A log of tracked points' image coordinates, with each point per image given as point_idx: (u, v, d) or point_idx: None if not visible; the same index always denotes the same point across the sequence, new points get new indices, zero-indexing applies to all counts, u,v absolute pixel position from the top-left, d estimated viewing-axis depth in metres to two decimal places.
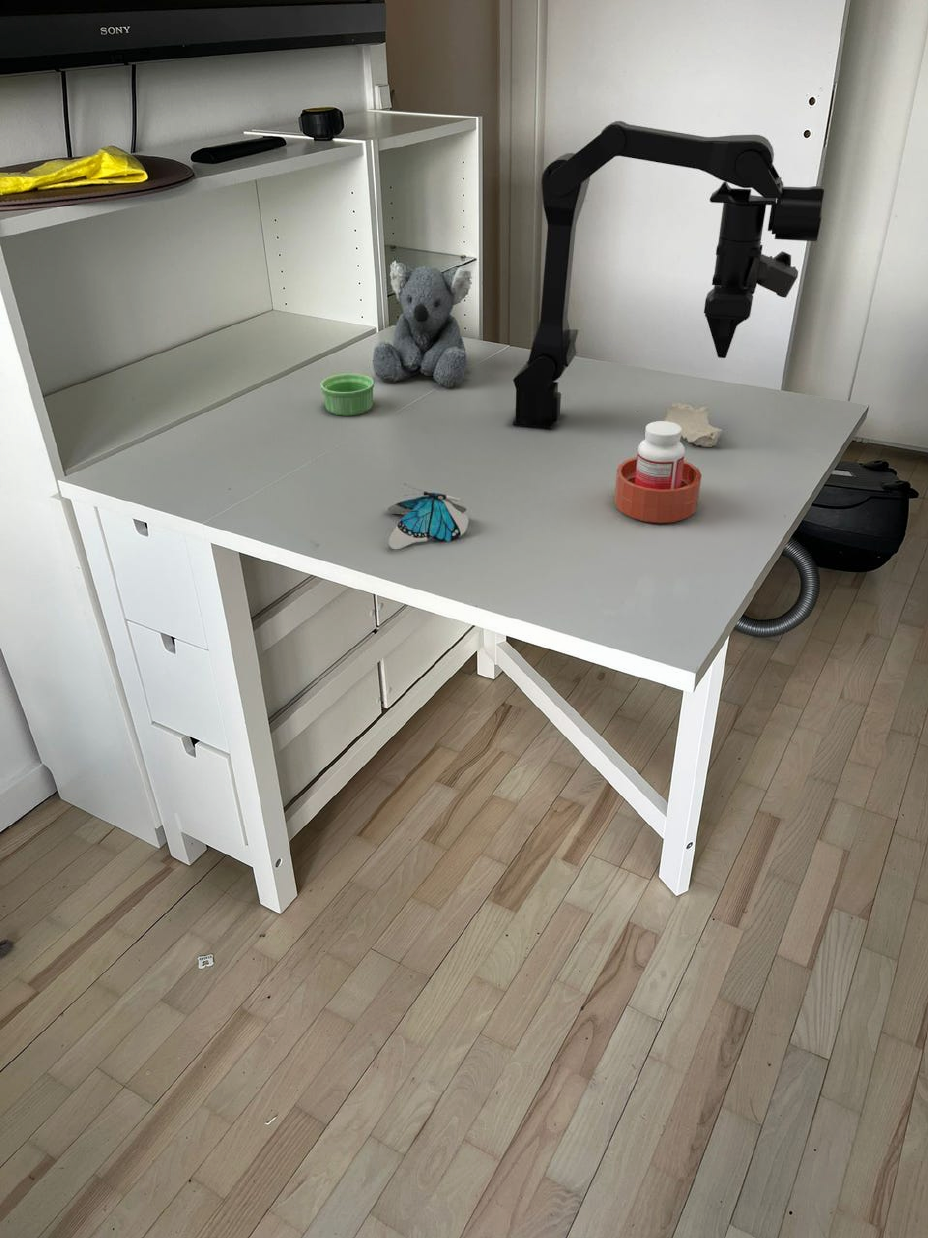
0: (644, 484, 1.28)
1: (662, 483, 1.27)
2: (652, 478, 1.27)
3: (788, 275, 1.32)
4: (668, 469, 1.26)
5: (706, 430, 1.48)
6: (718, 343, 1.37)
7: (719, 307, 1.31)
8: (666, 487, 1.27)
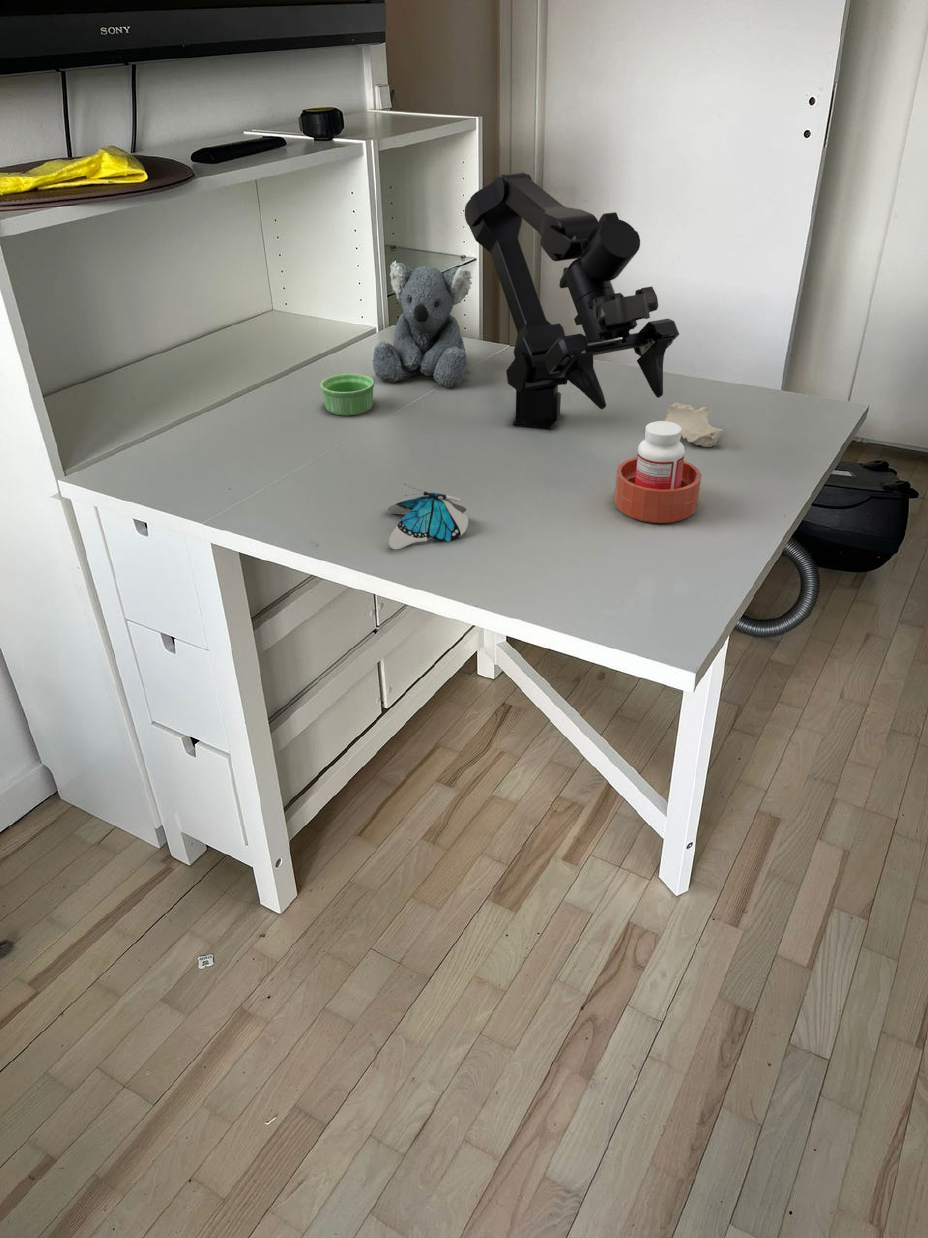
0: (644, 484, 1.28)
1: (662, 483, 1.27)
2: (652, 478, 1.27)
3: (613, 300, 1.25)
4: (668, 469, 1.26)
5: (706, 430, 1.48)
6: (590, 396, 1.30)
7: (550, 360, 1.30)
8: (666, 487, 1.27)
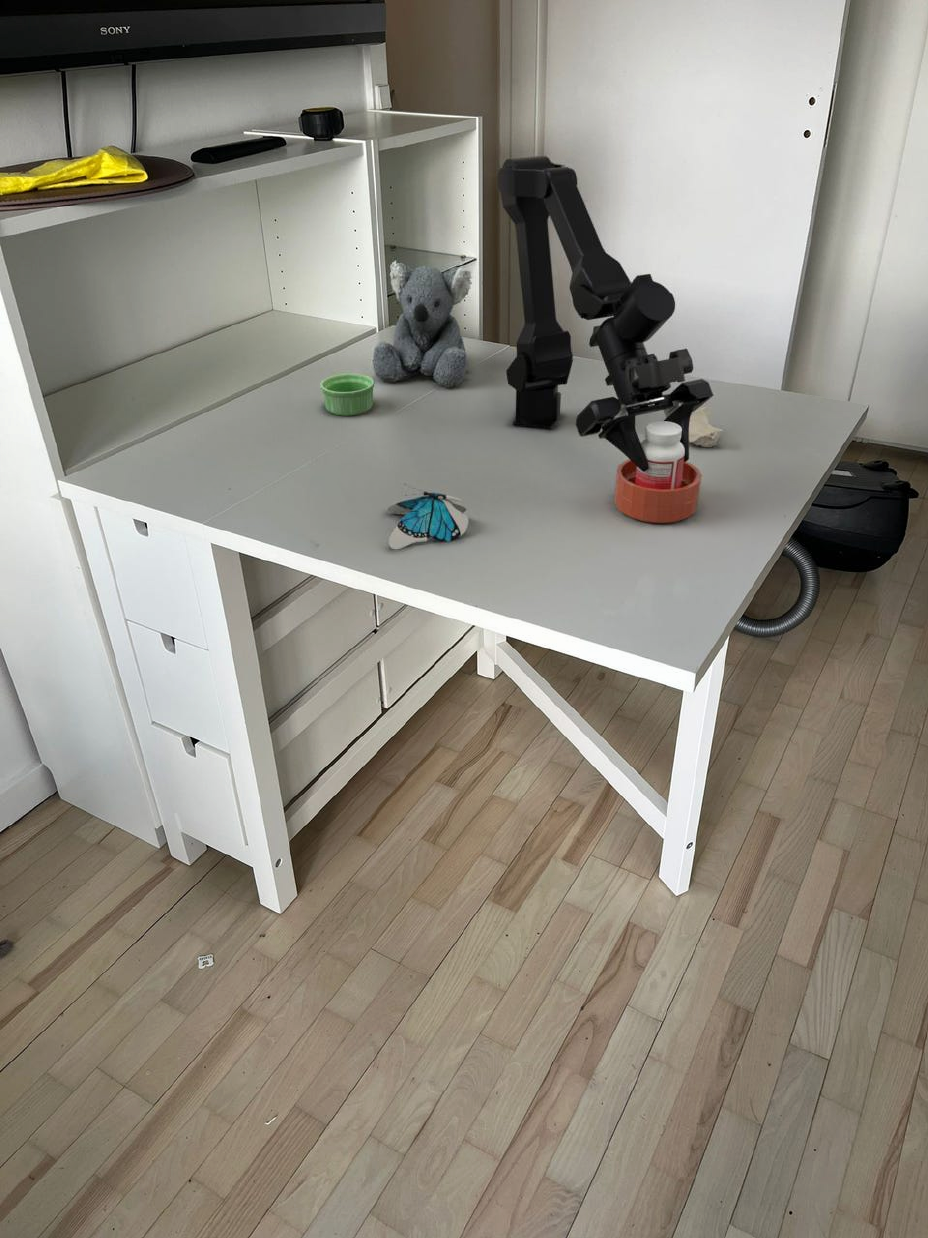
0: (644, 484, 1.28)
1: (662, 483, 1.27)
2: (652, 478, 1.27)
3: (647, 364, 1.21)
4: (668, 469, 1.26)
5: (706, 430, 1.48)
6: (632, 458, 1.27)
7: (581, 424, 1.26)
8: (666, 487, 1.27)
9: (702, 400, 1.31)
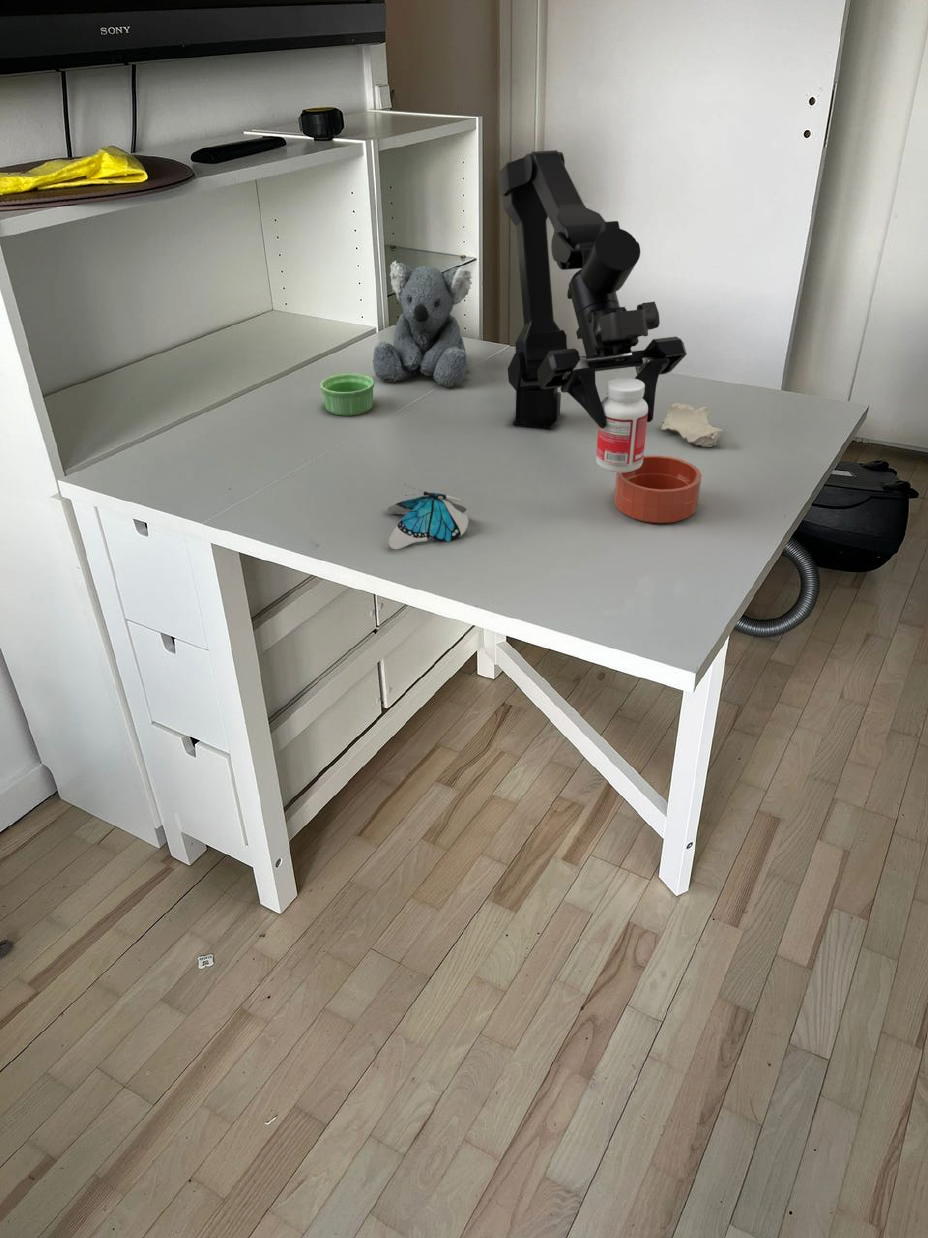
0: (603, 442, 1.23)
1: (621, 442, 1.22)
2: (611, 436, 1.22)
3: (608, 315, 1.17)
4: (627, 427, 1.21)
5: (706, 430, 1.48)
6: (591, 414, 1.22)
7: (541, 375, 1.22)
8: (625, 446, 1.22)
9: (676, 359, 1.25)
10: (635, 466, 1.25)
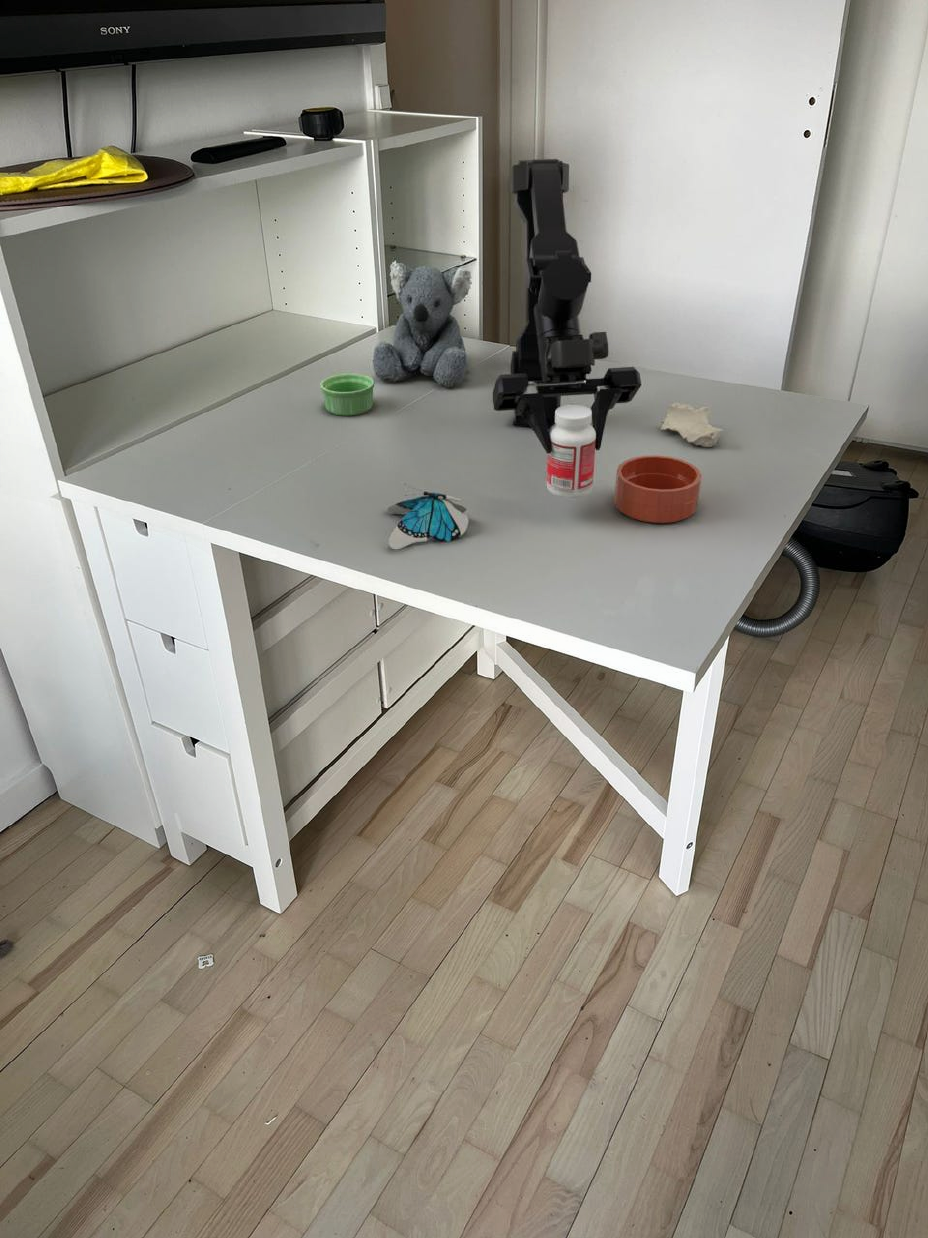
0: (550, 466, 1.25)
1: (565, 468, 1.23)
2: (556, 461, 1.24)
3: (554, 343, 1.18)
4: (570, 454, 1.22)
5: (706, 430, 1.48)
6: (539, 438, 1.24)
7: (494, 397, 1.25)
8: (569, 473, 1.24)
9: (632, 389, 1.25)
10: (581, 493, 1.26)
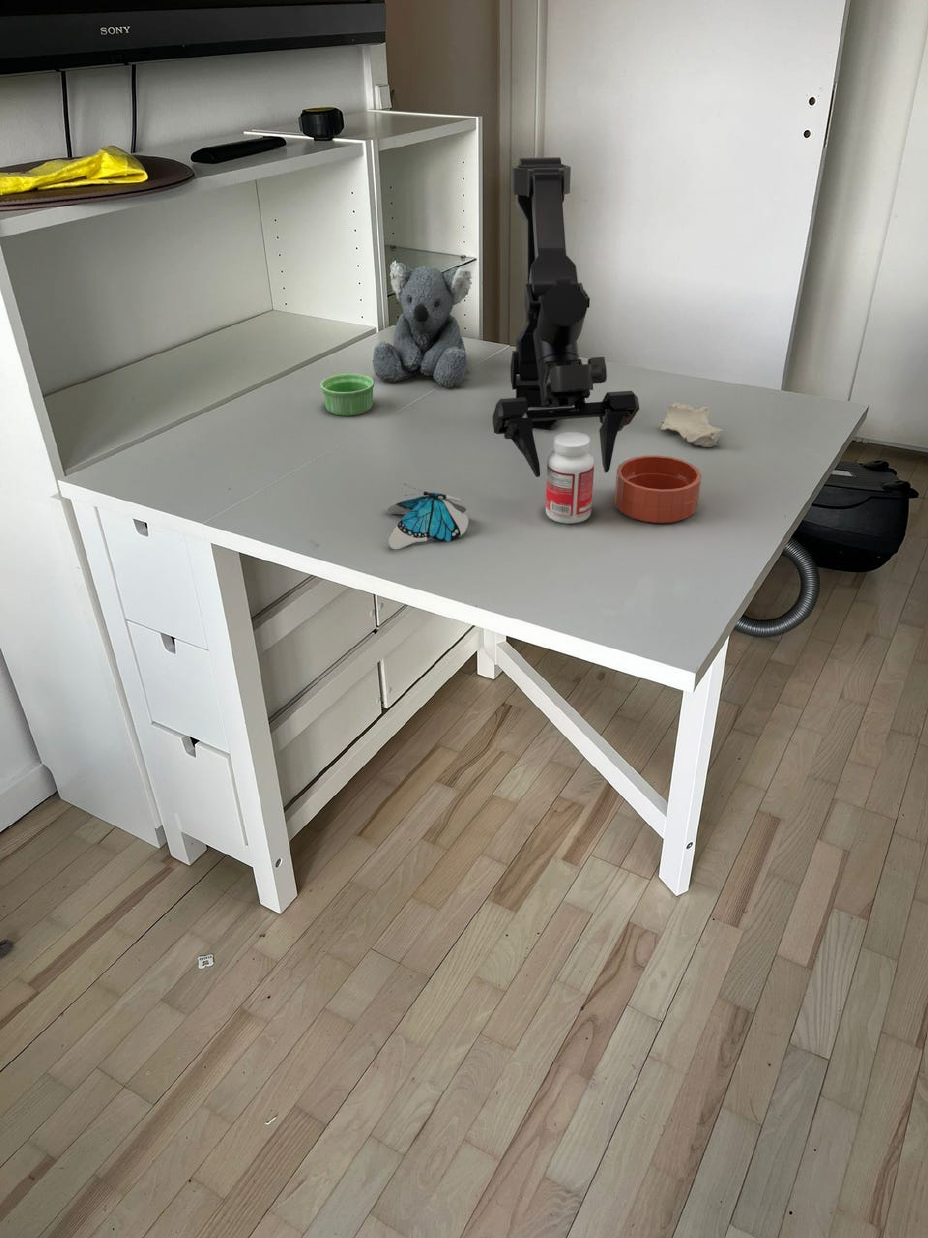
0: (549, 492, 1.27)
1: (564, 494, 1.25)
2: (555, 488, 1.26)
3: (553, 368, 1.20)
4: (569, 481, 1.24)
5: (706, 430, 1.48)
6: (528, 462, 1.26)
7: (494, 421, 1.27)
8: (568, 499, 1.26)
9: (630, 412, 1.27)
10: (580, 518, 1.28)
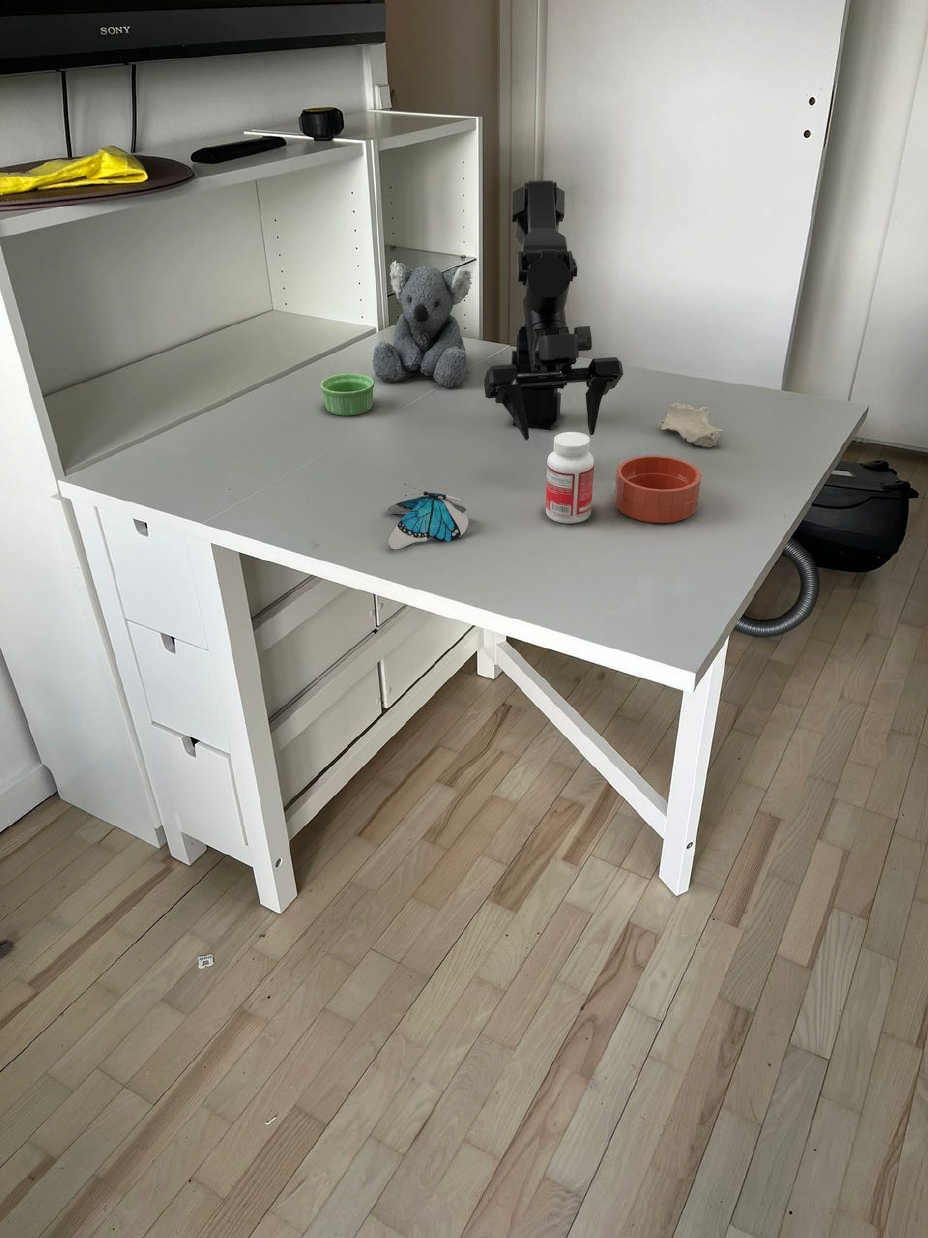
0: (549, 492, 1.27)
1: (564, 494, 1.25)
2: (555, 488, 1.26)
3: (541, 337, 1.27)
4: (569, 481, 1.24)
5: (706, 430, 1.48)
6: (518, 425, 1.33)
7: (485, 386, 1.34)
8: (568, 499, 1.26)
9: (615, 378, 1.34)
10: (580, 518, 1.28)
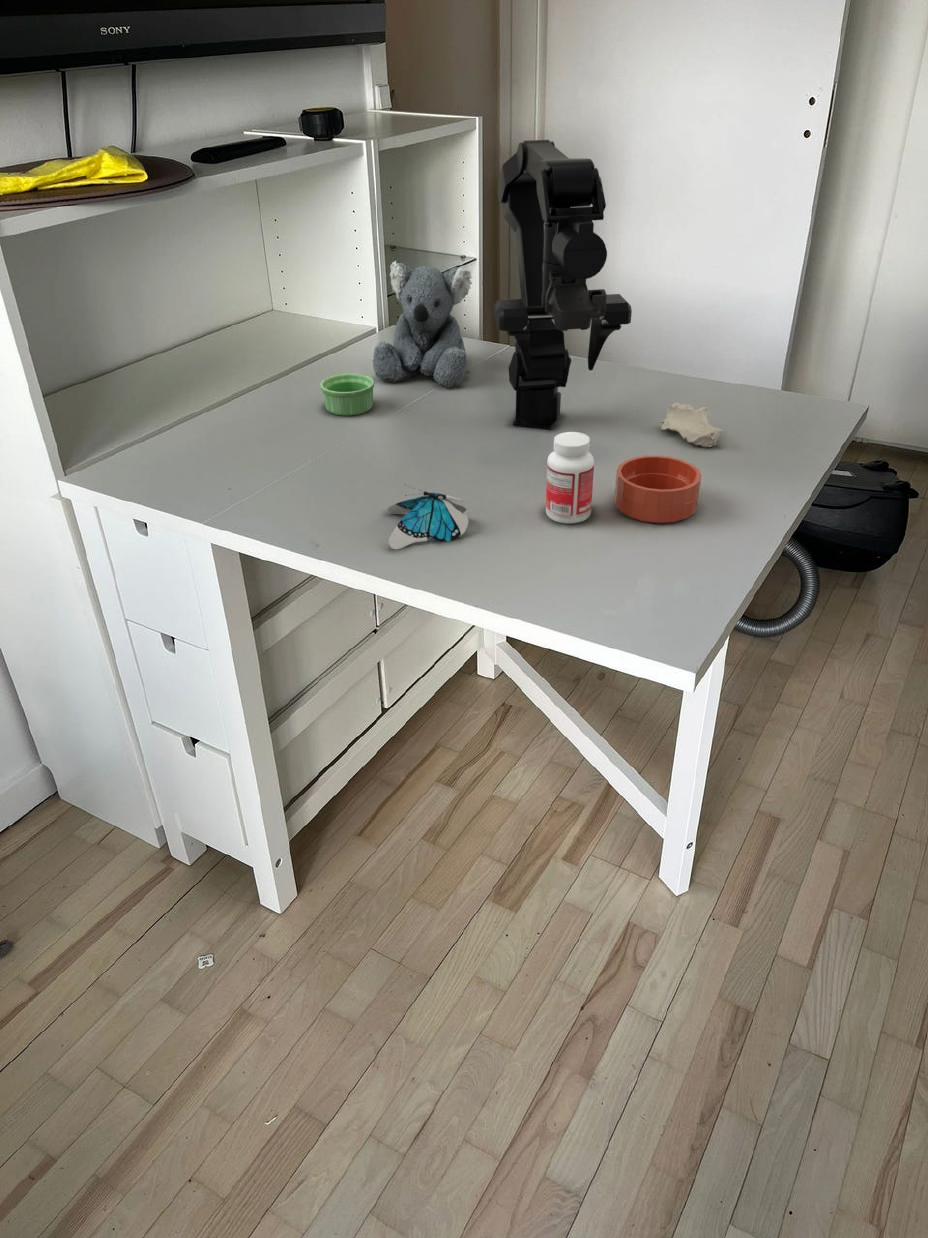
0: (549, 492, 1.27)
1: (564, 494, 1.25)
2: (555, 488, 1.26)
3: (557, 307, 1.27)
4: (569, 481, 1.24)
5: (706, 430, 1.48)
6: (521, 356, 1.38)
7: (495, 314, 1.35)
8: (568, 499, 1.26)
9: None
10: (580, 518, 1.28)
